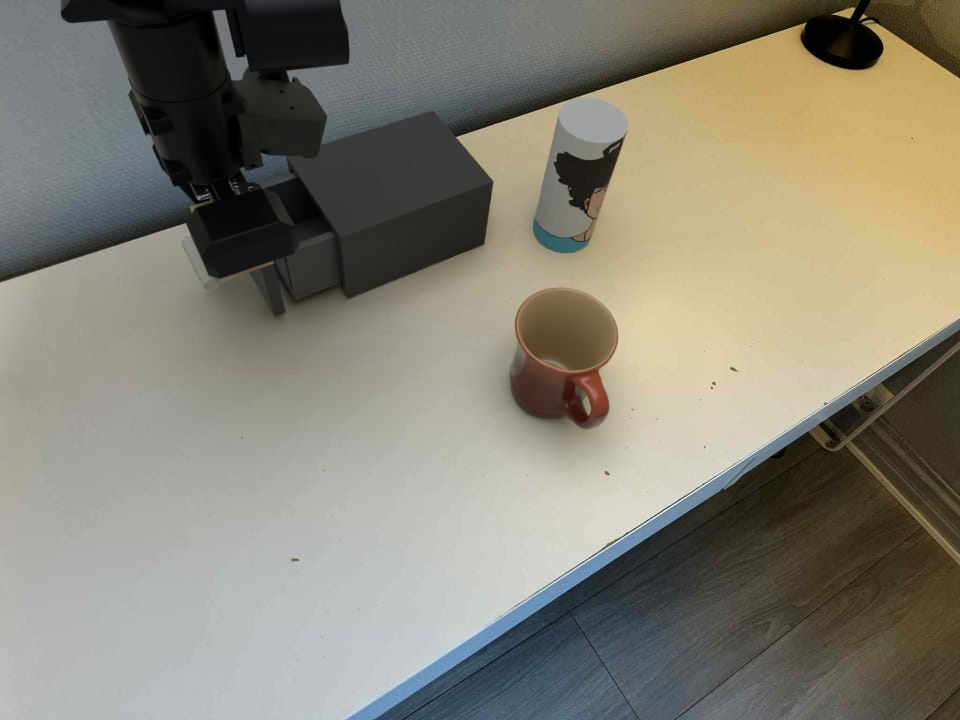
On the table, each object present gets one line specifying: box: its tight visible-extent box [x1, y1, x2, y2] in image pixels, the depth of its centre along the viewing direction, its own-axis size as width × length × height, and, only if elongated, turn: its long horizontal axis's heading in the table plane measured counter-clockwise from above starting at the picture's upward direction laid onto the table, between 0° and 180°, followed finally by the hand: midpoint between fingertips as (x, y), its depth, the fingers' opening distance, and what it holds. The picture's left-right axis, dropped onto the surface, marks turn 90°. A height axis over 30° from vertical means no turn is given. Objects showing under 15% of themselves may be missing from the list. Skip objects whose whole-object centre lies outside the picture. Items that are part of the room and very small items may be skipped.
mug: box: [509, 287, 619, 430], centre depth 59 cm, size 12×9×10 cm
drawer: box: [180, 173, 343, 318], centre depth 65 cm, size 20×11×7 cm, turn 122°
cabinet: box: [285, 110, 495, 300], centre depth 69 cm, size 17×12×9 cm
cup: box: [532, 96, 629, 254], centre depth 69 cm, size 7×7×15 cm
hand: (235, 246), depth 54 cm, fingers closed on block, 4 cm apart
